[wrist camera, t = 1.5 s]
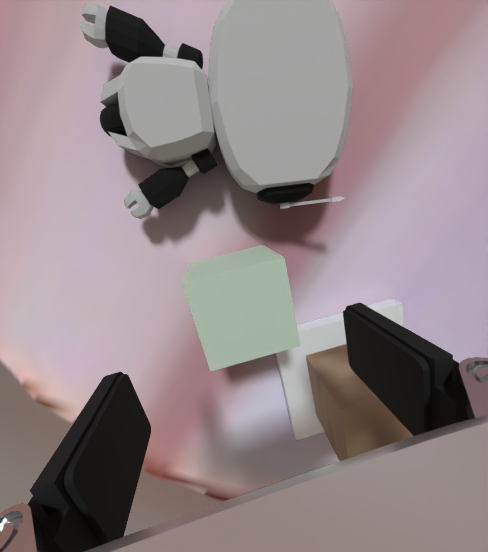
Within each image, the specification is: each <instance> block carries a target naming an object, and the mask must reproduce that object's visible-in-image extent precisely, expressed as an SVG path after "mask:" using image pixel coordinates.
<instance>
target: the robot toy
mask: <svg viewBox="0 0 488 552" xmlns="http://www.w3.org/2000/svg"><path fill="white" fill-rule="evenodd" d="M82 16H83V17H84V18H85V19H86V21H88V22H91V23H94V26H92V25H89V24H86V23H84V22H82V21H81V26H80V27H81V30H82V32H83V34H84V36H85V39H86V40H87V41H89V42H90V43H92V44H93V45H95V46H96V47H98V48H105V47H109V49H110V51H111V53H112V54H113V55H115V56H116V57H118V58H119V59H122V60H124V61H127V62H129V63H128V64H127V65H126V67H125V68H124V70H123V71H122V73H121V74H120V75H119V76H117V77H116V78H114V79H112V80H111V81H109V82H107V83H106V84H104V85H103V91H102V96H101V103H102V104H104V105H105V106H106V108H104V109H103V110H102V111H101V114H100V123H101V126H102V128H103V130H104V131H105V132H106V133H107V134H108V135H109V136H111V137H112V138H113V139H114V140H115V142H116V143H117V145H118V146H120V147H122V148H124V149H125V150H127V151H129V152H130V153H132V154H134V155H137V156H141V157H144V158H148V159H150V160H152V161H153V162H155V163H156V164H158V165H161V166H166V167H170V168H165V169H160V170H159V171H157V172H156V173H154V174H153V175H151V176H150V177H149V178H147V179H146V180H144V181H143V182H141V183H140V184H139V187H140V189H141V190H132V191H130V193H129V194H128V195H127V196H126V197H125V199H124V203H125V206H126V207H127V208H131V207H132V206H133V205H135V204H136V203H138V204H139V206H140V207H139V208H137V209H136V210H134V211H132V212H130V213H131V214H132V215H133V216H134V217H136V218H139V219H142V218H144V217H147V216H149V215H150V213H151V211H152V209H153V207H156V208H158V209H160V208H162V207H163V206H165V205H166V204H168V203H169V202H171V201H172V200H174V199H175V198H177V197H178V196H180V194H181V192H182V190H183V189H184V187H185V185H186V183H187V181H188V179H189V177H191V176H192V175H193V174H195V173H196V172H198V171H199V170H200V172H201V173H204V174H205V173H207V172H208V171H210V170H211V169H213V168H214V167H216V166H217V163H216V161H215V159H214V157H213V156H212V152H213V150H214V148H215V146H216V144H217V142H216V136H217V140H218V143H219V147H220V151H221V154H222V156H223V159H224V161H225V164H226V166H227V169H228V170H229V172H230V174H231V176H232V177H233V178H234V180H235V181H236V182H237V183H238V184H239V185H240V187H241V188H243V189H245V190H248V191H251V192H254V193H256V194H257V197H258V199H259V200H261V201H264V202H267V203H271V204H279V203H280V209H283V208H290V206H297V205H305V204H313V203H321V202H330V201H331V202H335V201H341V200H343V199H345V198H344V197H341V196H340V197H332V198H329V199H321V200H313V201H305V202H297V203H289V202H295V201H298V200H300V199H302V198H304V197H305V196H307V195H308V194H310V193H312V191H313V187H314V185H315V184H316V183H318V182H319V181H321V180H322V179H324V178H325V177H327V176H329V175H330V174H331V172H332V170H333V169H334V167H335V165H336V163H337V162H338V160H339V158H340V155H341V153H342V150H343V146H344V142H345V138H346V134H347V130H348V123H349V116H350V108H351V101H352V94H353V85H352V77H351V69H350V61H349V52H348V46H347V41H346V37H345V33H344V28H343V24H342V22H341V19H340V16H339V13H338V11H337V10H336V8H335V6H334V5H333V3H332V1H331V0H229V1H227V2H226V3H225V4H224V5H223V6H222V9H221V11H220V13H219V16H218V18H217V20H216V23H215V25H214V28H213V33H212V38H211V46H210V56H209V86H208V81H207V76H206V74H205V73H204V72H203V71H202V67H203V56H202V53H201V51H200V50H198V49H195V48H193V47H191V46H188V45H186V44H184V43H182V45H181V46H180V48H179V51H178V50H175V49H173V48H171V47H168V46H166V45H165V44H164V43H163V42H162V41H161V39H160V38H159V37H158V36H157V35H156V34H155V32H154V31H153V30H152V29H151V28H150V27H149V26H148V25H147V24H146V23H145V21H144V20H143V19H140V18H138V17H136V16H133V15H131V14H129V13H126V12H124V11H122V10H119V9H117V8H115V7H112V6H110V7H109V10H108V12H106V10H105V9H104V8H103V7H101V6H99V5H93V4H85V6H84V7H83V9H82ZM215 133H216V134H215ZM184 164H186V165H184ZM180 165H184V166H183V167H176V166H180ZM172 167H173V168H172Z"/></svg>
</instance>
